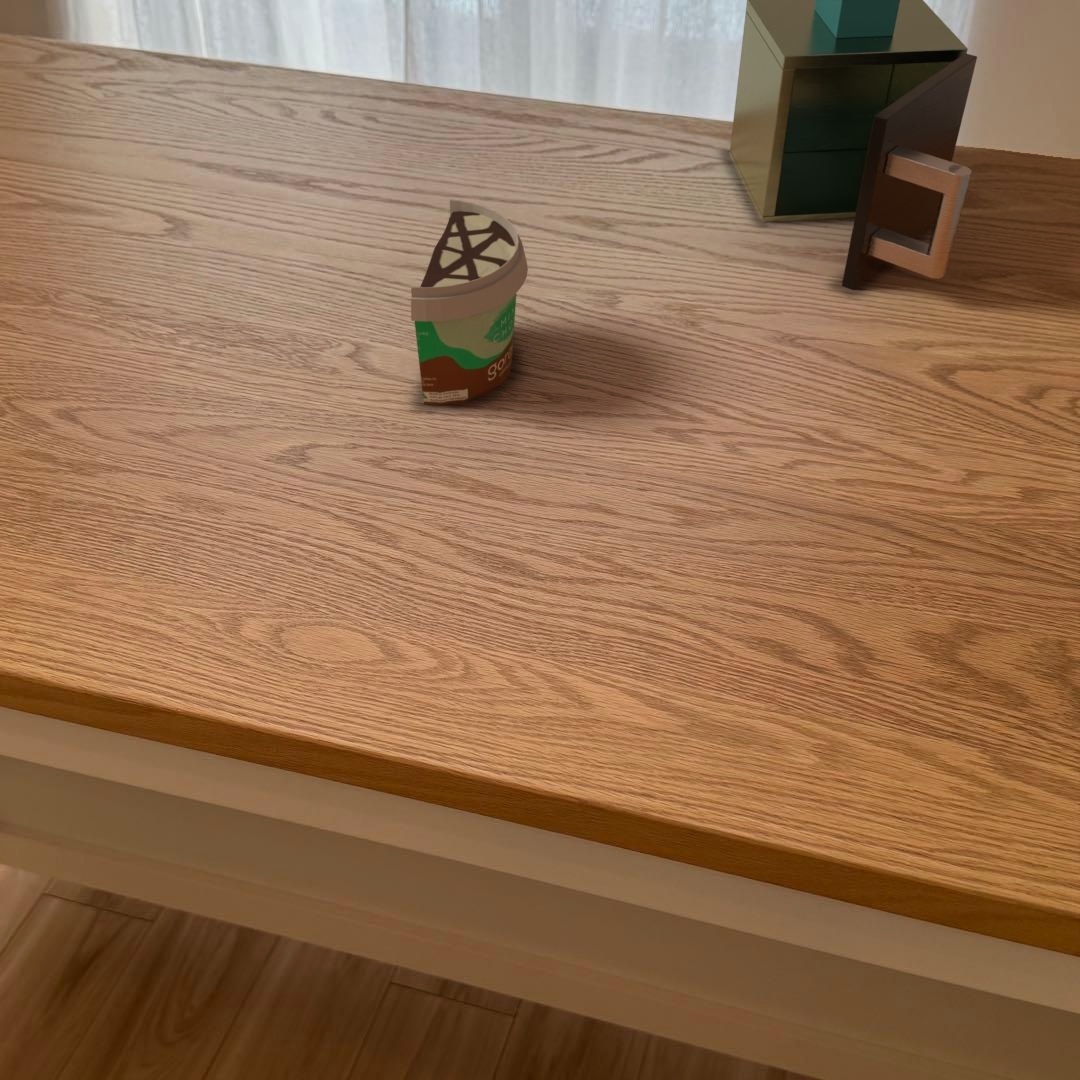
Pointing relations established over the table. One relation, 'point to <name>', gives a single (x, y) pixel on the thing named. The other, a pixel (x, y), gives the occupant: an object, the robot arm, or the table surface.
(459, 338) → the food container
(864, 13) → the detergent bottle
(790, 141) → the olive green small cabinet
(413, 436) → the table surface
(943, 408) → the table surface
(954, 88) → the black cabinet door
